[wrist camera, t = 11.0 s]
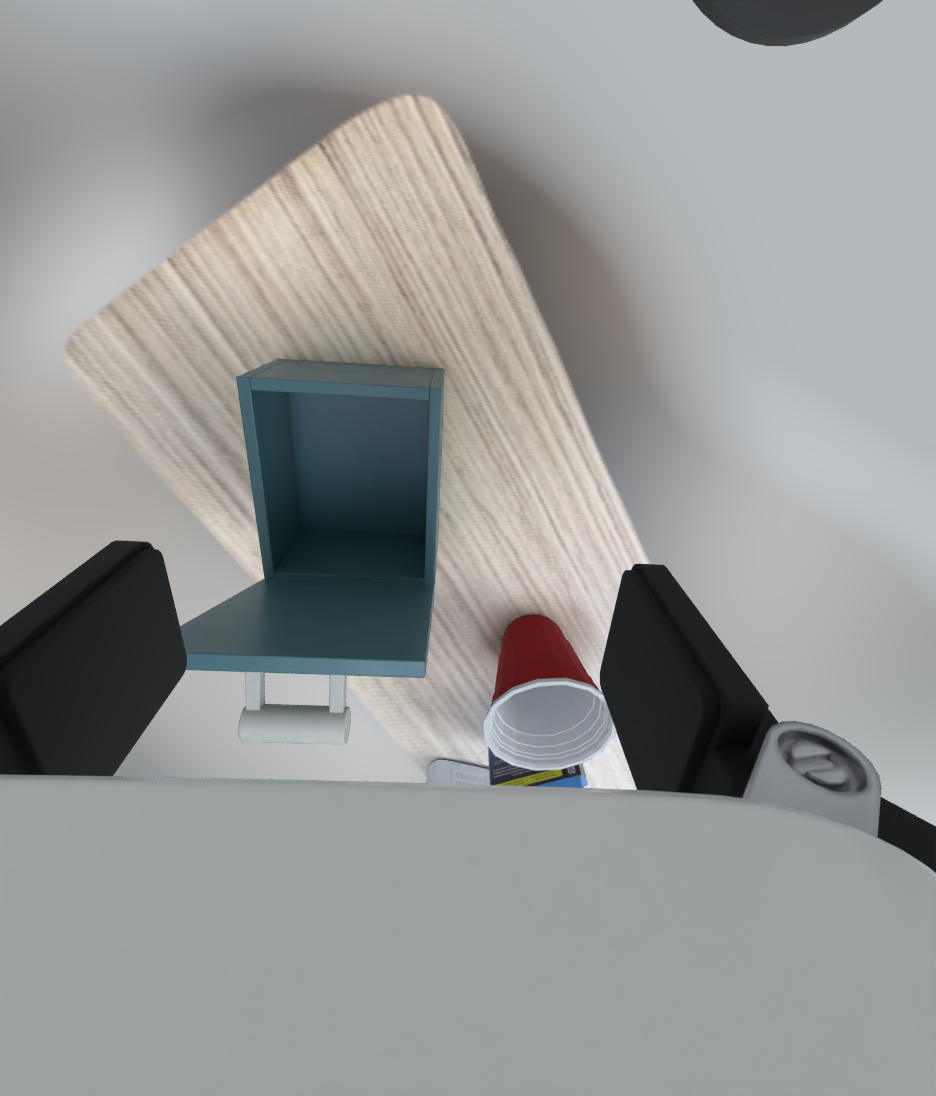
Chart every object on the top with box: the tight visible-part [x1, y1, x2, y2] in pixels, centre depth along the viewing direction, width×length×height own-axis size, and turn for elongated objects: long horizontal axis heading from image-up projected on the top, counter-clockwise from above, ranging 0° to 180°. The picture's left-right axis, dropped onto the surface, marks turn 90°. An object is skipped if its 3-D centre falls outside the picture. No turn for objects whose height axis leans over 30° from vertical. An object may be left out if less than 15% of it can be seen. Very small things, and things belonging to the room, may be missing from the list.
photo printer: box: [426, 760, 490, 785], centre depth 55 cm, size 10×4×12 cm, turn 72°
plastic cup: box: [483, 615, 616, 771], centre depth 46 cm, size 11×11×12 cm
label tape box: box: [488, 747, 588, 788], centre depth 51 cm, size 9×4×12 cm, turn 111°
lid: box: [180, 579, 435, 745], centre depth 30 cm, size 15×13×5 cm
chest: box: [236, 359, 445, 587], centre depth 39 cm, size 15×13×8 cm
